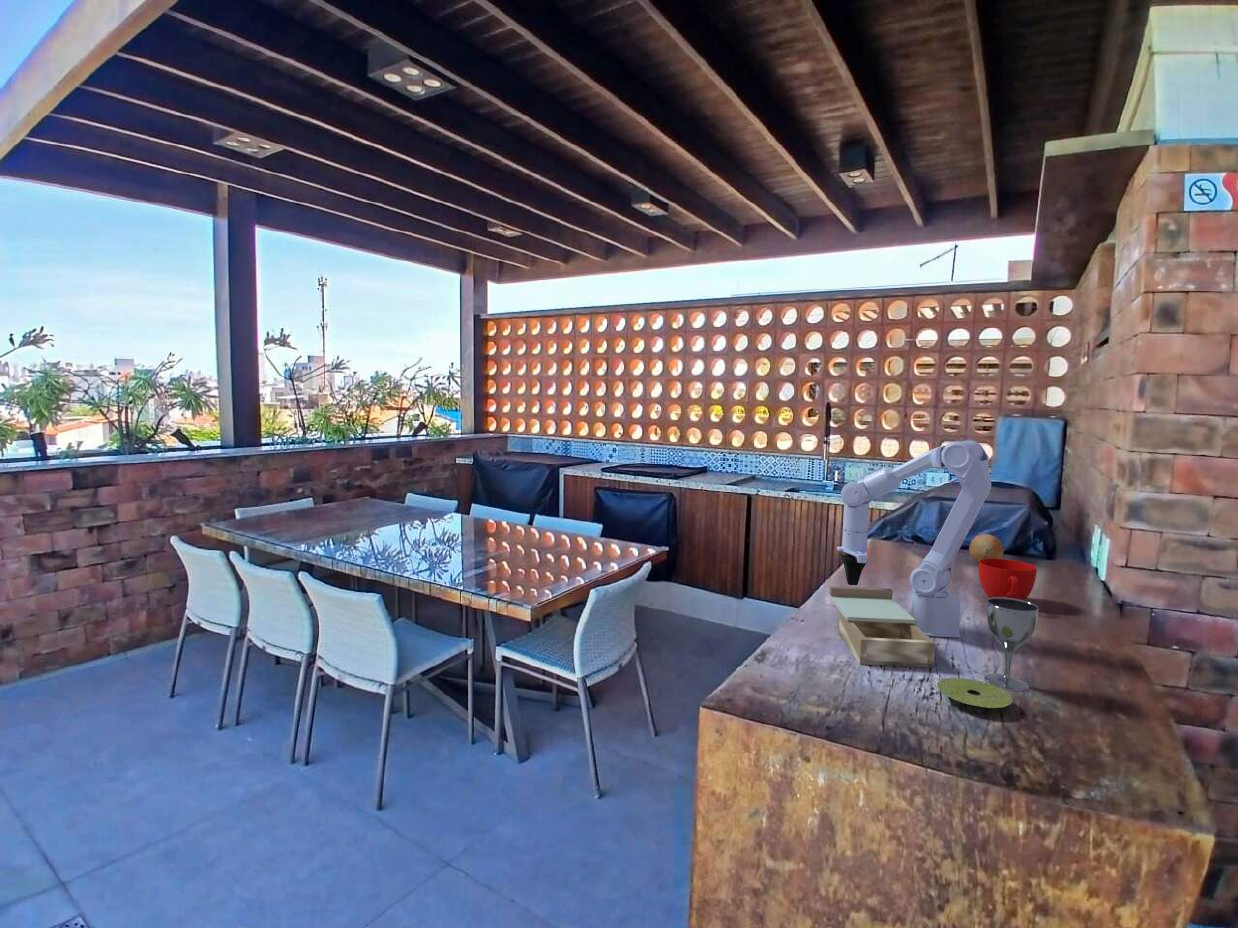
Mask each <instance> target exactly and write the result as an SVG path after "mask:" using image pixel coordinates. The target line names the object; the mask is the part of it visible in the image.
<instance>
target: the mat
mask: <svg viewBox="0 0 1238 928" xmlns="http://www.w3.org/2000/svg"><path fill="white" fill-rule="evenodd" d="M936 685H937V688H938V691H940V692H941V693H942V694H944V695H945V696H947V697H948V698H951V699H952V700H955V701H957V702H959V703H962V704H966V705H970V706H974V707H975V706H976V707H981V708H988V709H996V708H997V709H998V708H999V709H1000V708H1005V707H1007V706H1010V705H1011V704H1012V703H1013V698H1012V696H1011V695H1010V694H1009V693H1008V692H1007V691H1005V690H1004V689H1002V688H999V687H996V686H994V685H991V684H990V683H988V682H985V681H984V682H983V681H980V680H976V679H972V678H965V677H948V678H943V679H941V680H939V681H937V683H936Z"/></svg>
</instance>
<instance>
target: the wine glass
mask: <svg viewBox="0 0 1238 928" xmlns="http://www.w3.org/2000/svg"><path fill="white" fill-rule="evenodd" d="M1038 618H1039V606H1038V605H1037V604H1034V603H1032V602H1030V601H1027V600H1019V599H1014V598H1006V597H992V598H989V597H988V598H987V600H986V620H987V625H988V629H989V632H990V633H991V634H992V635H993V637H994V638H995V639H996V641H997V642H998V643H999V644H1000V646H1001V648H1002V649H1003V653H1004V661H1005V662H1004V665H1005V666H1004V674H1002V673H989V674H986V675H985V676H984V681H985V682H986V683H987V684H991V685H994V686H996V687H998V688H1000V689H1002V690H1007V691H1014V692H1025V691H1029V690H1030V684H1029V683H1027V682H1026V681H1024V680H1023V679H1021V678H1018V677H1015V676H1011V665H1012V659H1013V655H1014V654H1015V652H1016V651H1017V649H1019V648H1020V647H1021V646H1023V645H1024V644H1026V643H1027V642H1028V641H1029V640H1031V638H1032V637H1033V635H1034V633H1035V630H1036V627H1037V624H1038Z"/></svg>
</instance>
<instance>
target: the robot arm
mask: <svg viewBox="0 0 1238 928" xmlns="http://www.w3.org/2000/svg"><path fill="white" fill-rule="evenodd" d="M989 459H990V457H989V455H988V454H987V452H986V450H985V449H984V448H983V446H982V445H981V444H980V443H979V442H977V441H975V440H971V439H967V440H966V439H965V440H963V441H962V440H961V441H959V440H958V441H950V442H949V443H947V444H946V445H941V446H938V447H935V448H932V449H930V450H927V451H925V452H924V453H922V454H920V455H918V456H916V457H914V458H912V459H910V460H908V461H907V462H904V463H902V464H900V465H899V466H897V467H895V468H893V467H889V466H884V467H883V466H878V467H876V468H875V469H874V470H875V471H874V472H872V473H870V474H868V475H866V476H863V475H862V476H859V477H858V478H857V481H856V482H855V481H851V482H849V481H848V483H847V484H845V485H844V486H842V489H841V491H840V498H841V500H842V502H843V503H844V505H843V517H842V518H843V521H842V525H843V526H842V537H841V538H842V540H841V541H842V542H841V544H842V545H841V546H836V550H837V551H839V552H843V553H846V554H840V560H841V561H842V563H843V567H844V571H845V573H844V574H845V578H846V583H847V585H849V586H858V584H859V581H860V579H861V575H862V572H863V570H864V568H865V567H866V565H867V564H868V561H869V560H868V551H869V550H868V535H869V519H870V518H869V517H870V514H869V513H870V512H869V511H870V503H871V502H872V501H873V500H875V499H877V498H880V497H883V496H884V495H886V494H888V493H889V494H890V492H893V491H895V490H897V489H899V488H900V485H901V483H902V481H903V480H905V479H908V478H910V477H912V476H915V475H917V474H920V473H922V472H925V471H927V470H929V469H932V468H940V469H941V468H947V469H948V470H949V471H950V472H951V473H952V474H953V475H954V476H955V477H956V479H957V481H958V483H959V485H960V487H961V490H960V492H959V495H958V496H957V498H956V500H955V502H954V503H953V506H952V507H951V510H950V511H949V513H948V515H947V518H946V520H945V521H944V523H943V526H942V527H941V530H940V531H939V533H938V536H937V537H936V539H935V541H934V543H933V546H932V547H931V549H930V550H929V552H928V553H927V554H926V556H925V557H924V558H923V560H922V561H921V564H920V565H919V566H917V567H916V568H914V569H913V570H912V572H910V576H909V582H910V585H911V587H912V597H911V609H910V610H911V612H910V615H911V616H912V617H913V618H914V619H915V620H916V624H915V625H916V626H917V627H918V628H919V629H920V630H922V631H923V632H924V633H925V634H926V635H927V636H928V637H936V638H937V637H939V638H940V637H943V638H961V634H960V622H961V621H960V620H961V604H960V599H959V597H958V596H957V595H956V594H955V593H949V591H948V589H947V586H948V585H949V584H950V583H951V581H952V578H953V572H952V571H953V568H954V566H955V560H956V559H955V558H956V556H957V554H958V552H959V551H960V549H961V547H962V546H963V544H964V541H965V539H966V538H967V535H968V534H969V532H970V529H971V528H972V526H973V525H974V522H975V520H976V518H977V517H978V515H979V513H980V510H981V509H982V506H983V504H984V503H985V501H986V499H987V498H988V495H989V494H990V491H991V490H992V481H991V474H990V473H991V472H990V468H989V461H990V460H989Z"/></svg>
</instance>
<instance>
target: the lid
mask: <svg viewBox="0 0 1238 928" xmlns="http://www.w3.org/2000/svg"><path fill="white" fill-rule="evenodd" d="M828 591H829V593H828V596H829V597H828V598H829V599H830V601H831V602H832V603H833V605H834V606H835V607H836V608H837V609H838V611H839V613H842V614H843V616H844V617H845V618H846V620H847V621H868V622H890V623H912V624H916V620H915V619H914V618H913V617H912V616H911V613H909V612H908V611H906V609H904V607H902V606H901V605H900V604H898V603H897V601H895V600H894V598H893V592H894V591H893V589H892V588H886V587H885V588H883V587H882V588H881V587H861V586H860V587H859V586H858V587H857V586H840V585H839V586H836V585H833V586H832V585H830V586H829V589H828Z"/></svg>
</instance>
